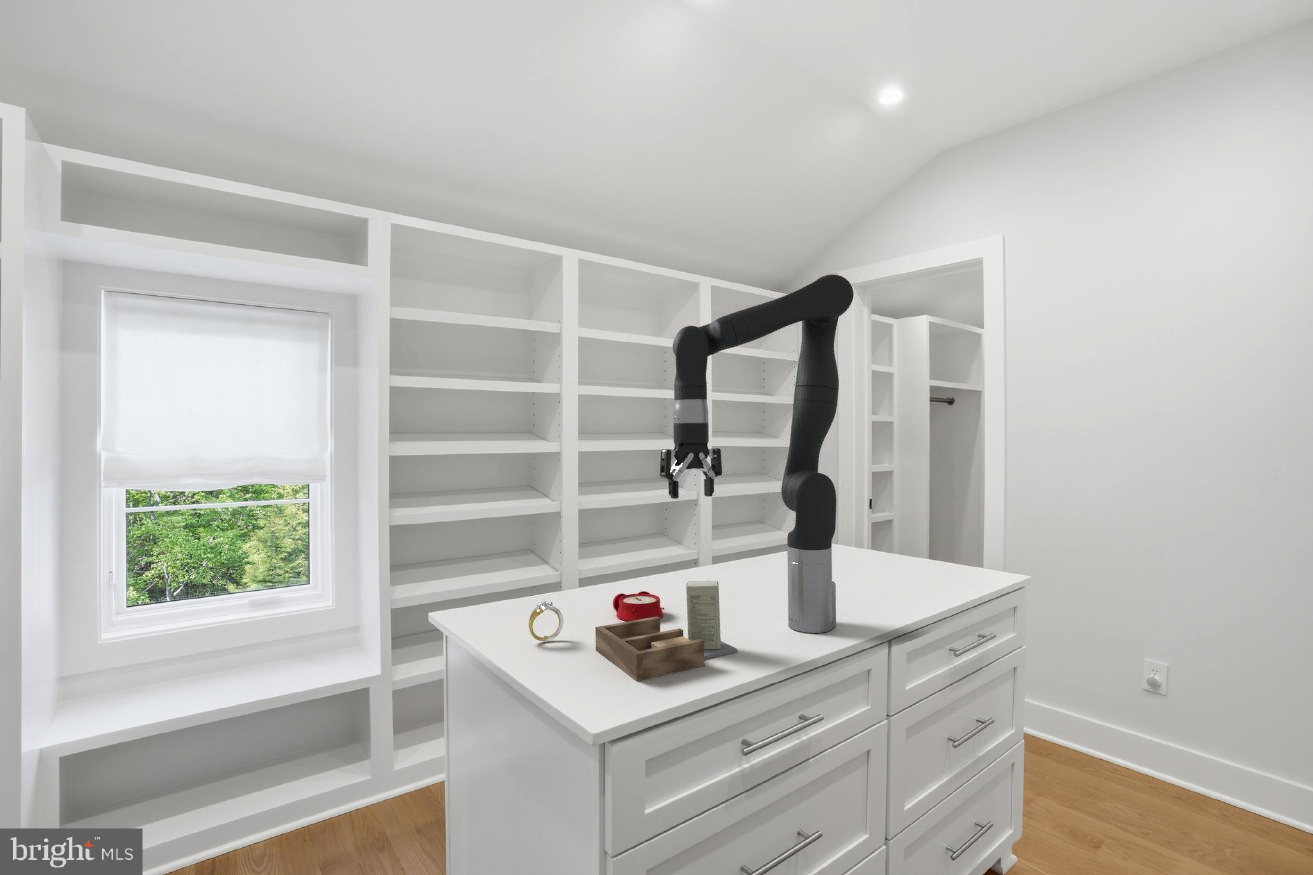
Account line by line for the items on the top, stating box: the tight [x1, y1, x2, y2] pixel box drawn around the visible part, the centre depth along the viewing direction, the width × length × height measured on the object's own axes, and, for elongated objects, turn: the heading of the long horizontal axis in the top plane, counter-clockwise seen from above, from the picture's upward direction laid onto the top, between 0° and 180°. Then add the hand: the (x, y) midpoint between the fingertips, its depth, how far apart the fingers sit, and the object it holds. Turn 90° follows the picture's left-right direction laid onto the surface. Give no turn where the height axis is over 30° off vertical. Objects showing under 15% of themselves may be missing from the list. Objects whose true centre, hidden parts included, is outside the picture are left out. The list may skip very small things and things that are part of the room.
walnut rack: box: [595, 617, 705, 682], centre depth 114 cm, size 14×17×4 cm
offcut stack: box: [651, 636, 691, 649], centre depth 112 cm, size 8×5×4 cm, turn 119°
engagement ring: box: [527, 601, 564, 643], centre depth 124 cm, size 7×3×8 cm, turn 110°
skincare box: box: [685, 580, 722, 649], centre depth 119 cm, size 6×4×12 cm
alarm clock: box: [612, 590, 665, 622], centre depth 143 cm, size 11×6×15 cm
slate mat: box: [704, 640, 738, 660], centre depth 119 cm, size 9×9×1 cm
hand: (691, 497), depth 131 cm, fingers open, 8 cm apart
